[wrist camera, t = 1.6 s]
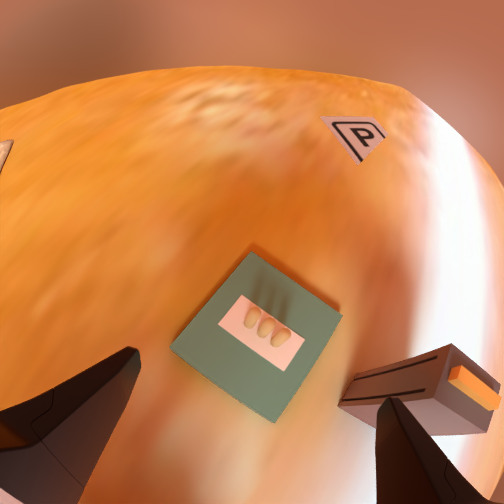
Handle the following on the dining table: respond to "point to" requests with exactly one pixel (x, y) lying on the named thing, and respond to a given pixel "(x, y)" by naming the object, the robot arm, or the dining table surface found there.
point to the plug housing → (429, 392)
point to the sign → (356, 134)
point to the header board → (258, 336)
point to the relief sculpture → (4, 150)
